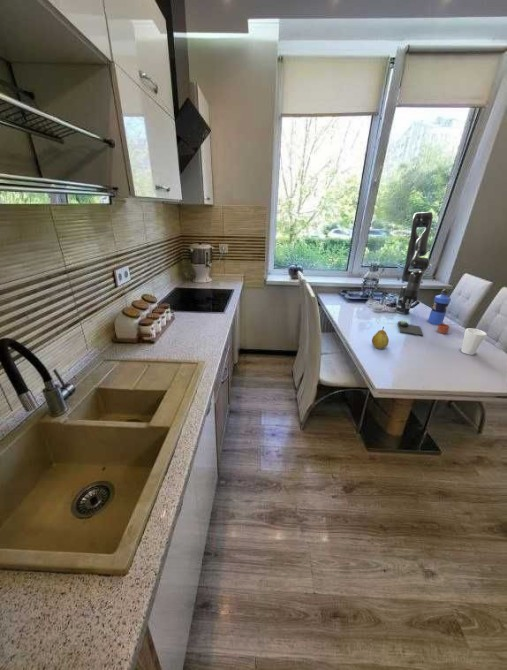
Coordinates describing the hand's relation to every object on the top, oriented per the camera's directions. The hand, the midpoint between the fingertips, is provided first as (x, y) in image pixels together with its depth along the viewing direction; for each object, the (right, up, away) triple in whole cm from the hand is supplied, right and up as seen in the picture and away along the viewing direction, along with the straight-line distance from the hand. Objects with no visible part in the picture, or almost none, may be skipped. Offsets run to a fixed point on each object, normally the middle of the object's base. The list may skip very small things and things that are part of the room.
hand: (405, 313), depth 188 cm
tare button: (0, -7, +3) cm, 7 cm away
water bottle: (+28, -6, +13) cm, 32 cm away
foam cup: (+20, -25, -29) cm, 43 cm away
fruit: (-30, -22, -26) cm, 46 cm away
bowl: (+22, -13, -4) cm, 26 cm away
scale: (+2, -11, -1) cm, 12 cm away
